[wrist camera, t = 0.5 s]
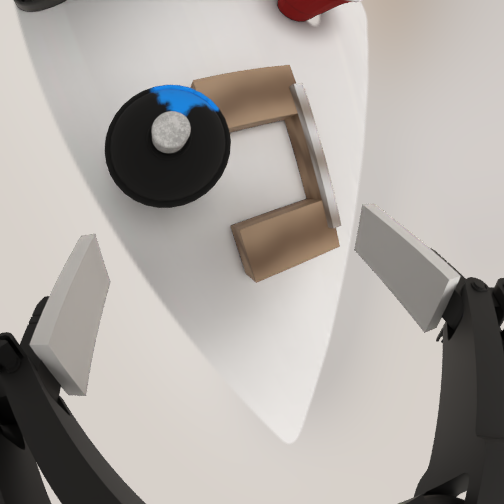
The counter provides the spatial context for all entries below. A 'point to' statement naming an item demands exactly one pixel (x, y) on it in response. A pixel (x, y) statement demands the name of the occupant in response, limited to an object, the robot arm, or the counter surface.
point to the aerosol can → (167, 146)
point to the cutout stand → (308, 160)
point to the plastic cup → (308, 7)
